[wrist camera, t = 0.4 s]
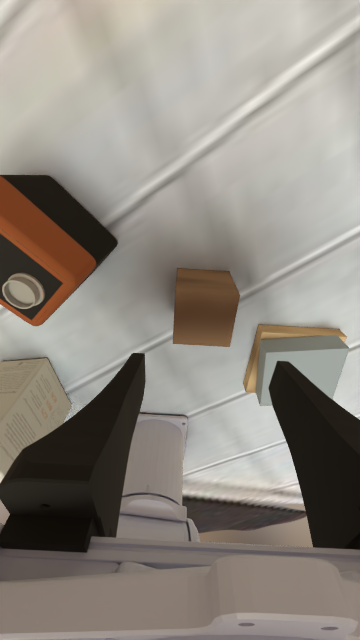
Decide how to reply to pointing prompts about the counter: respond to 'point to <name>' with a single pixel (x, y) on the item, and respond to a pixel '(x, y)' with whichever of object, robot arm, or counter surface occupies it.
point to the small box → (28, 406)
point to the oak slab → (275, 333)
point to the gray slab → (302, 361)
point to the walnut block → (204, 307)
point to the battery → (45, 246)
